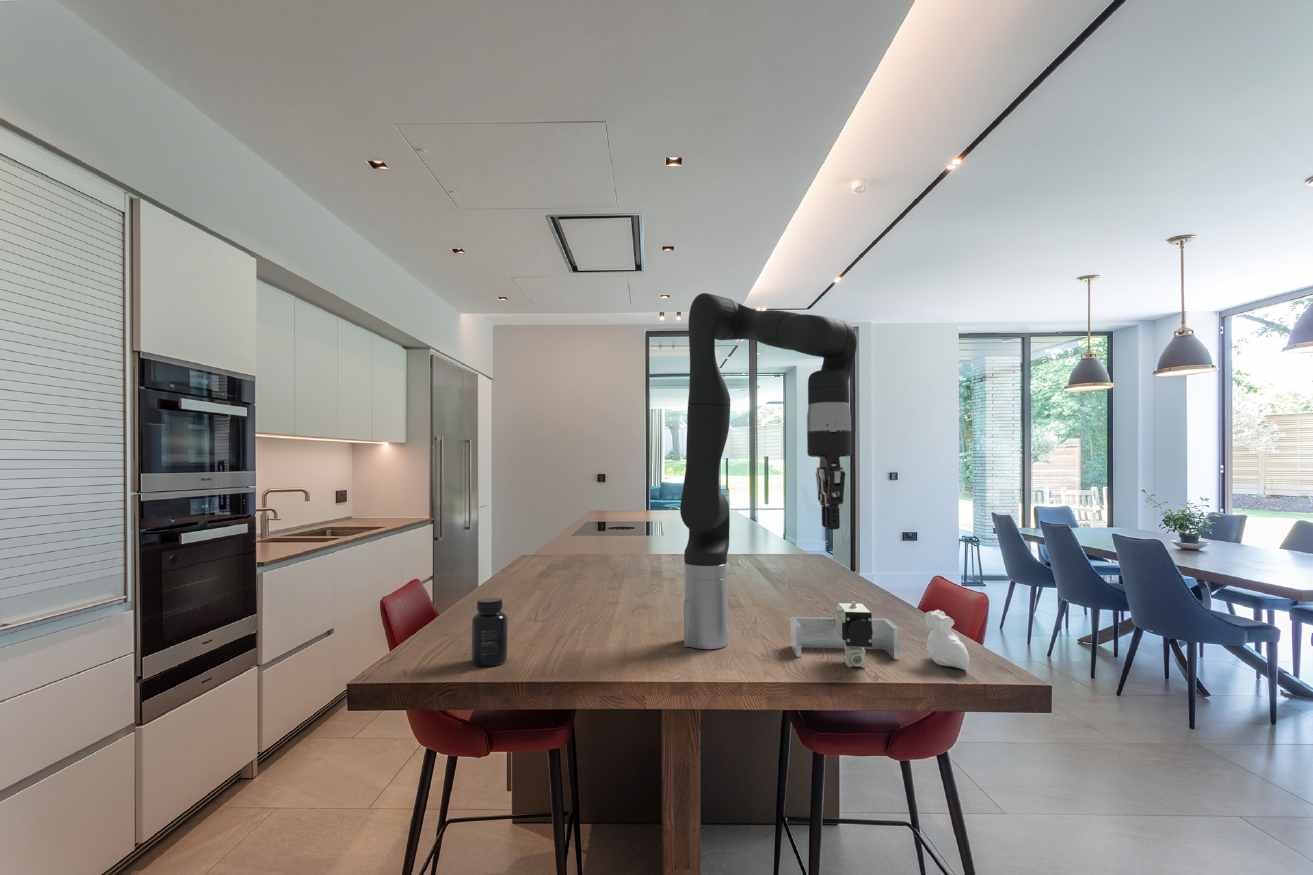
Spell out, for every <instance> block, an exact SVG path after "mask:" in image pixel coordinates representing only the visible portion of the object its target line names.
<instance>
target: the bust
mask: <svg viewBox="0 0 1313 875" xmlns="http://www.w3.org/2000/svg"><path fill="white" fill-rule="evenodd" d="M923 620H924V624H925V626H926V628H928V629H930V628H931V629H933V630H931V631H930V633H928V637H927V639H926V640H927V641H926V642H927V643H926V649H927V650H926V651H927V653H928V655H929V657H930V659H931V660H932V661H933V662H934V663H935V664H936V665H939V666H944V667H951V668H957V669H961V670H962V671H963V670H965V671H967V670H968V669H969V667H970V661H971V660H970V655H969V652H968V650H967V647H966V645H965V644H964V643H963V642H962V641H961V640H960V639H959V637H958V636H957V634H955V633H954V632H953V631H952V630H951V628H952V627H953V626H954V625H955V620H954V619H952V618H951V617H950V616H948V615H946V613H945V612H944V611H943V610H939V609H935V610H934V611H933V610H929V611H928V612H926V613H925V615H924V619H923Z"/></svg>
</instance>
